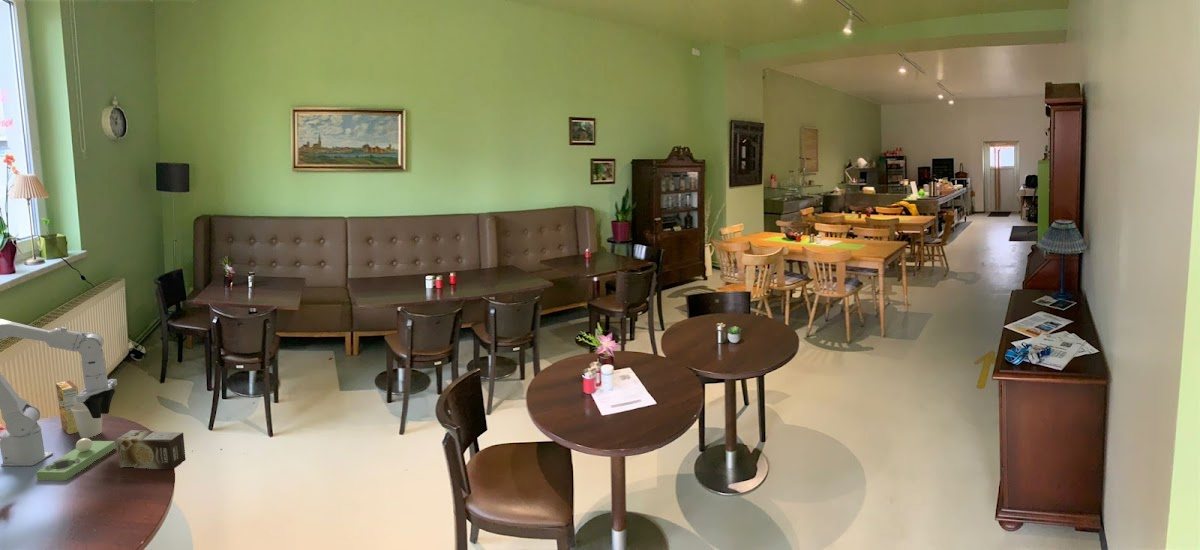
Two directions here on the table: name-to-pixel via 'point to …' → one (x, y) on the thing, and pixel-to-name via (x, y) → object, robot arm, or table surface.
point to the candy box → (67, 405)
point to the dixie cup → (86, 421)
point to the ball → (84, 445)
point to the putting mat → (74, 461)
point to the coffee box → (151, 449)
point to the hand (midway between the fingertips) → (100, 415)
